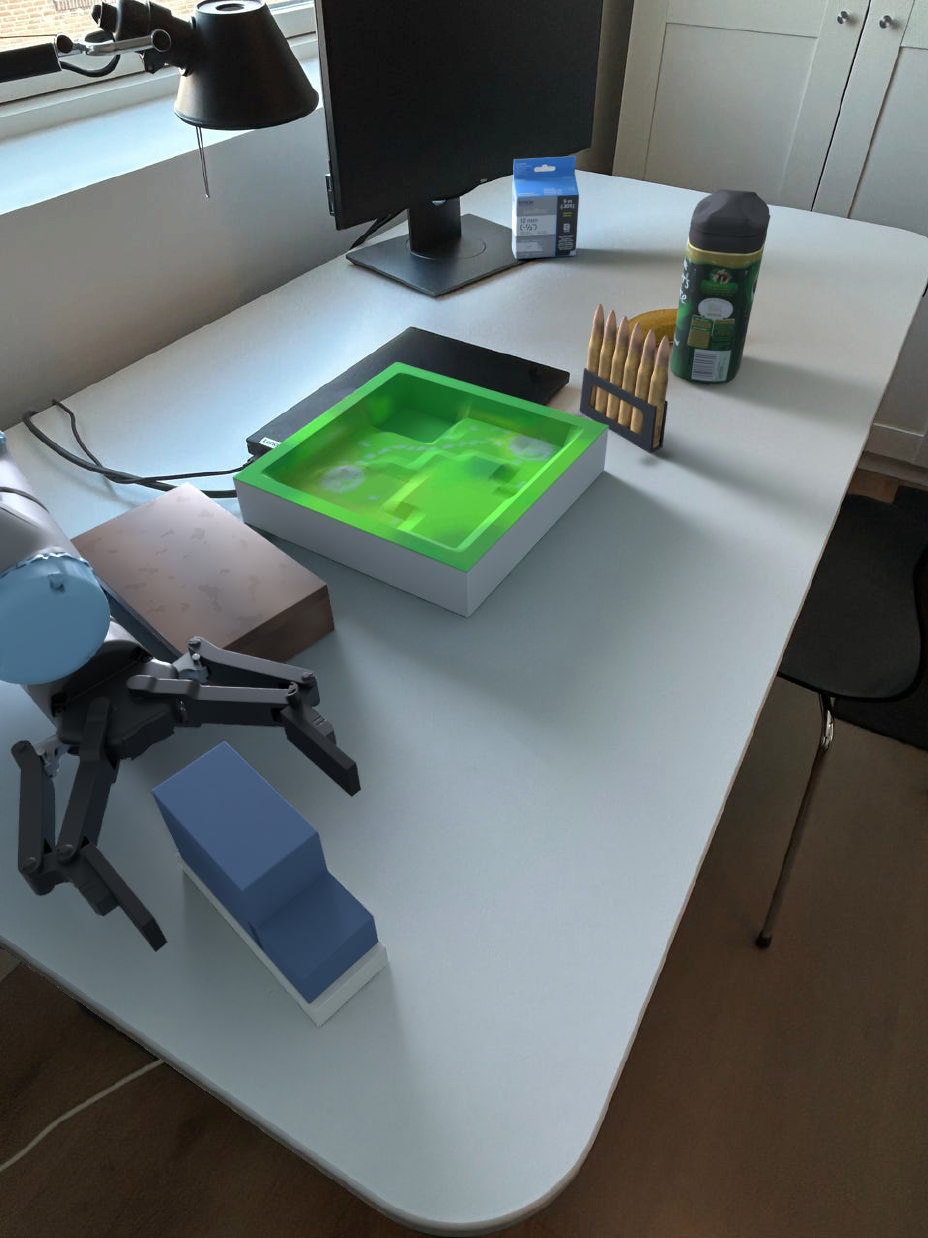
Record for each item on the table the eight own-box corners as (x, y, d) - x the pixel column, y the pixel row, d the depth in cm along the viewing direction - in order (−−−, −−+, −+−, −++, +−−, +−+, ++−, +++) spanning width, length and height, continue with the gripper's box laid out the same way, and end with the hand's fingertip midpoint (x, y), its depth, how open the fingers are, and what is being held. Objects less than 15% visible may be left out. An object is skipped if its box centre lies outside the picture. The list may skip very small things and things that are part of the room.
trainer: (318, 1028, 49) (293, 953, 42) (182, 869, 56) (143, 786, 50) (389, 962, 51) (374, 883, 45) (250, 819, 59) (221, 734, 52)
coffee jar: (675, 344, 106) (700, 179, 93) (742, 352, 104) (778, 185, 91) (662, 382, 99) (687, 211, 86) (734, 392, 97) (771, 218, 84)
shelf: (210, 711, 65) (194, 665, 62) (81, 588, 76) (61, 542, 72) (335, 629, 71) (327, 583, 68) (200, 526, 82) (187, 481, 78)
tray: (468, 618, 72) (466, 571, 69) (243, 521, 82) (232, 477, 79) (604, 469, 87) (608, 425, 84) (399, 403, 97) (396, 361, 94)
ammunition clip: (578, 410, 95) (586, 303, 87) (591, 405, 96) (600, 298, 88) (650, 453, 89) (666, 342, 81) (663, 446, 90) (680, 336, 81)
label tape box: (514, 260, 125) (516, 167, 117) (511, 249, 128) (512, 157, 120) (575, 257, 125) (581, 164, 117) (571, 246, 128) (576, 154, 120)
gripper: (240, 612, 69) (425, 763, 58) (-81, 805, 57) (78, 1044, 46) (219, 537, 64) (419, 687, 53) (-139, 731, 51) (25, 981, 40)
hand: (261, 853), depth 49 cm, fingers open, 13 cm apart
